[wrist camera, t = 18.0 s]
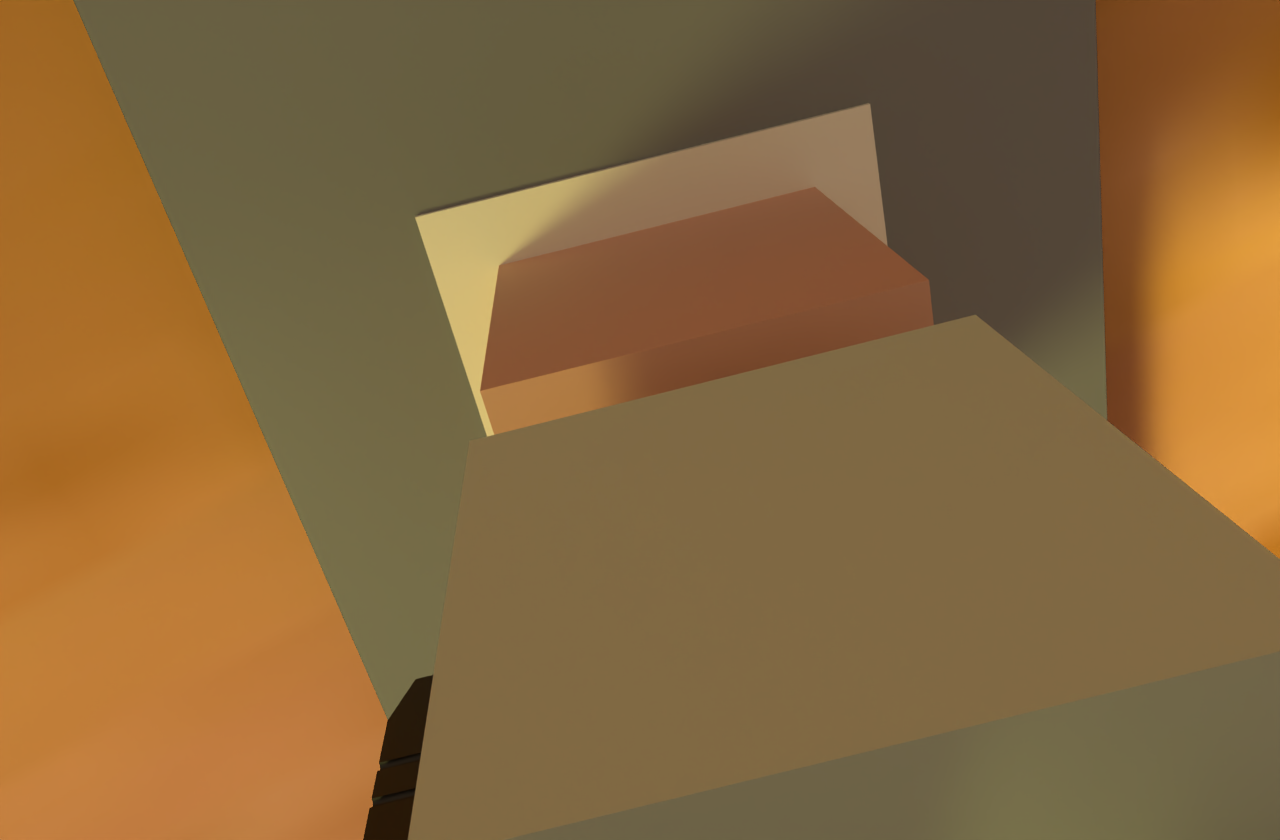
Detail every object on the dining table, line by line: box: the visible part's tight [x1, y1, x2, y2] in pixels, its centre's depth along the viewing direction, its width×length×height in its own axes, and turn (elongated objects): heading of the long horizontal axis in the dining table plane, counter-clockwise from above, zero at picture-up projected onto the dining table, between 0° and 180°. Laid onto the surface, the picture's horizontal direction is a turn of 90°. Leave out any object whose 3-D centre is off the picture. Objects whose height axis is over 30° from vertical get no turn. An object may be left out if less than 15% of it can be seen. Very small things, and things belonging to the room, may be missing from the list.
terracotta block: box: [480, 187, 934, 435], centre depth 14 cm, size 5×5×5 cm
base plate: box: [74, 0, 1107, 719], centre depth 17 cm, size 14×20×2 cm
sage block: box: [408, 315, 1280, 840], centre depth 8 cm, size 5×5×5 cm
